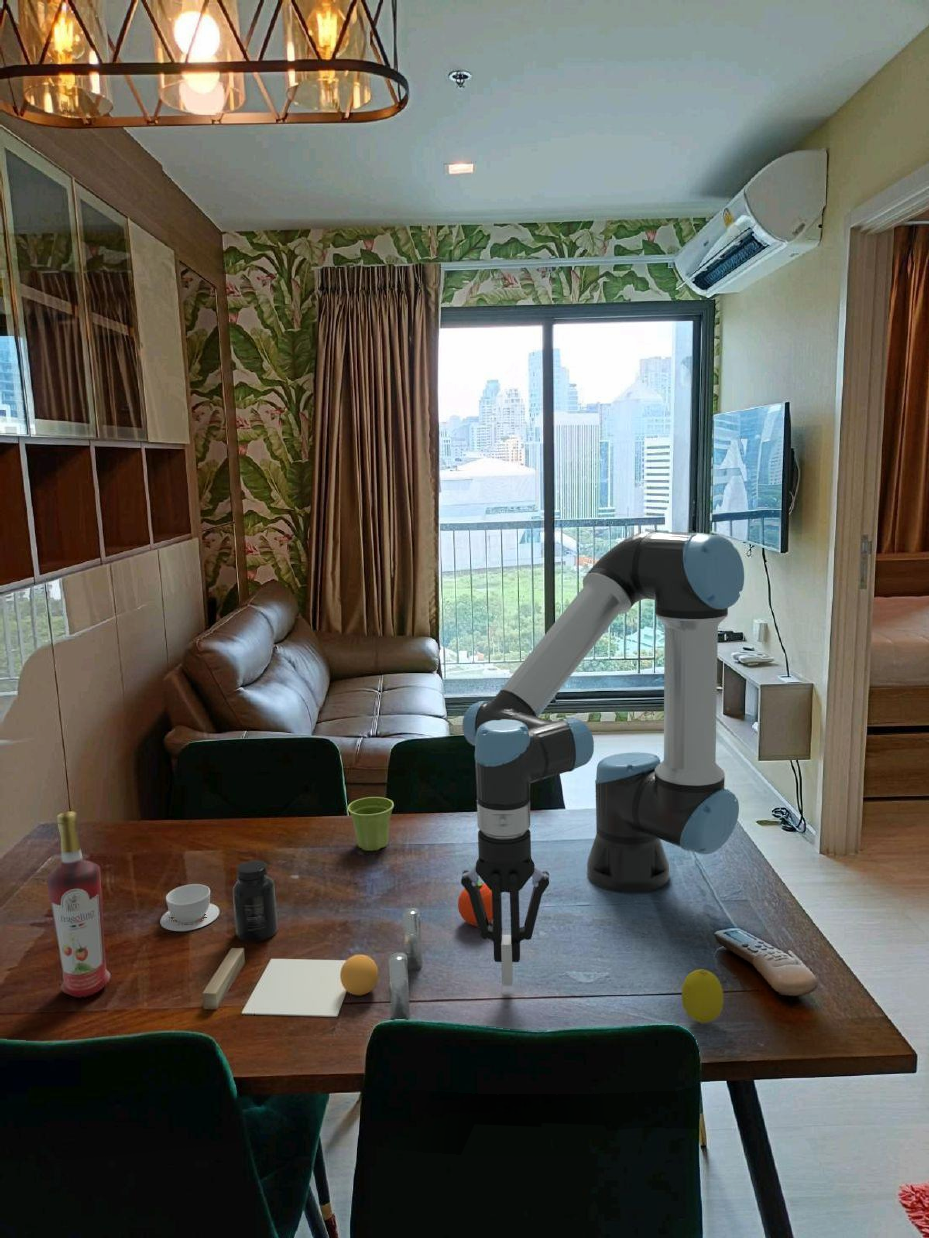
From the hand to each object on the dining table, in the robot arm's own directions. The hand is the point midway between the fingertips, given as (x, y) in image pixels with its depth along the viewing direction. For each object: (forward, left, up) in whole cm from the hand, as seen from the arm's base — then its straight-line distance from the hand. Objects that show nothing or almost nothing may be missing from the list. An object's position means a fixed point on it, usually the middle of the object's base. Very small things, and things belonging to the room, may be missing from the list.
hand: (507, 980), depth 128 cm
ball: (+22, +1, +1) cm, 22 cm away
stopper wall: (+43, 0, -2) cm, 43 cm away
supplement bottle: (+43, -15, -2) cm, 46 cm away
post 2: (+15, -6, -2) cm, 16 cm away
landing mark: (+31, 0, -2) cm, 31 cm away
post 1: (+15, +6, -2) cm, 16 cm away
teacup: (+57, -20, -2) cm, 60 cm away
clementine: (+6, -20, -2) cm, 21 cm away
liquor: (+64, +2, -2) cm, 64 cm away
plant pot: (+30, -50, -2) cm, 58 cm away
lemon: (-27, +6, -2) cm, 28 cm away
